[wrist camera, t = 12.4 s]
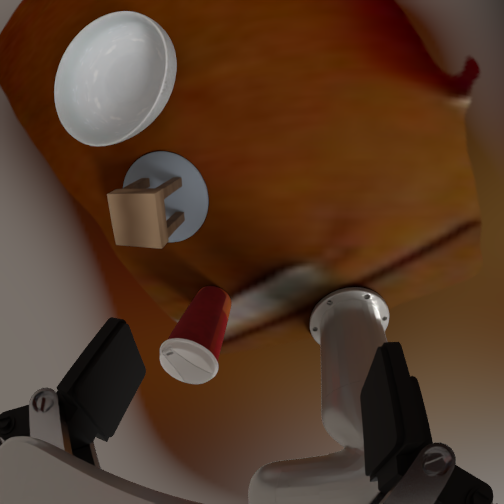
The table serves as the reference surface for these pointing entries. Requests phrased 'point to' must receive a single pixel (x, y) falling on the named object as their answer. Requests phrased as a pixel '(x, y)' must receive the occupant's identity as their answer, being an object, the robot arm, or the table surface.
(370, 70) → the table surface
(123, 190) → the stool
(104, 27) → the cereal bowl
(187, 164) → the mat
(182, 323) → the paper cup
